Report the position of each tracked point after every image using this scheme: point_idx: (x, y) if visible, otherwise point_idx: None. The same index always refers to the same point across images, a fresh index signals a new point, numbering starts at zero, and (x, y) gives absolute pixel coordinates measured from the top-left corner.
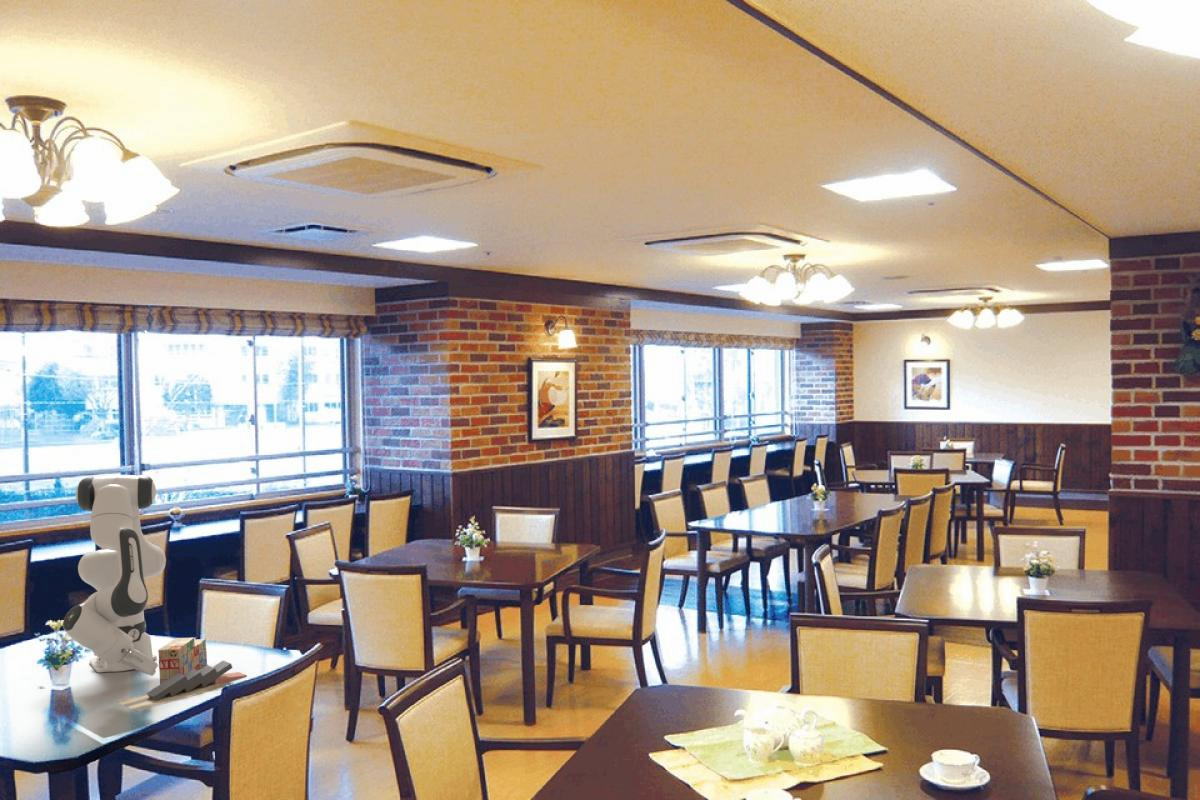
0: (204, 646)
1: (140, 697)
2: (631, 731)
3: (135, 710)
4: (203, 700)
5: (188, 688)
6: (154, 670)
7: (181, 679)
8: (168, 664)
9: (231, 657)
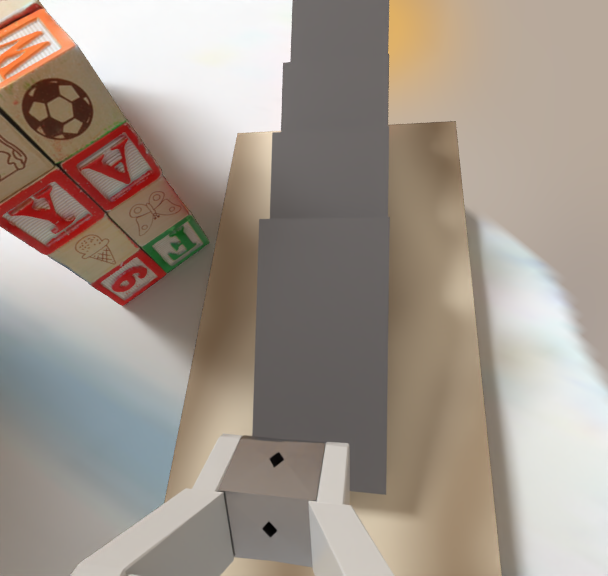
0: None
1: None
2: None
3: None
4: (529, 260)
5: None
6: (346, 462)
7: (388, 257)
8: (82, 196)
9: (78, 4)
